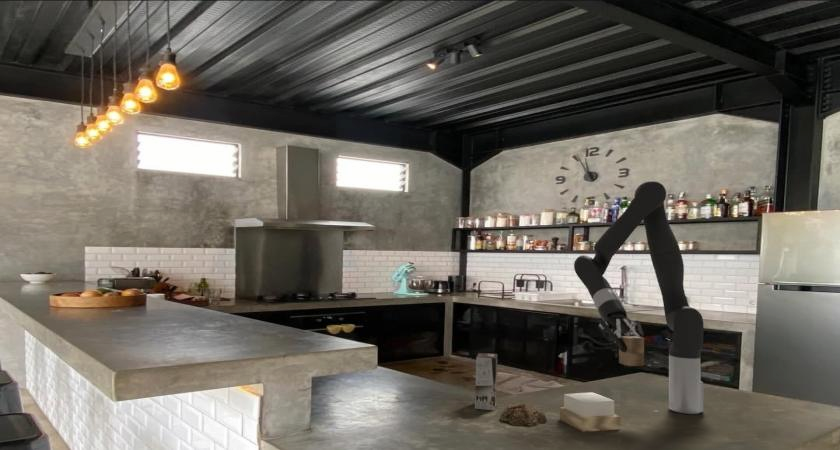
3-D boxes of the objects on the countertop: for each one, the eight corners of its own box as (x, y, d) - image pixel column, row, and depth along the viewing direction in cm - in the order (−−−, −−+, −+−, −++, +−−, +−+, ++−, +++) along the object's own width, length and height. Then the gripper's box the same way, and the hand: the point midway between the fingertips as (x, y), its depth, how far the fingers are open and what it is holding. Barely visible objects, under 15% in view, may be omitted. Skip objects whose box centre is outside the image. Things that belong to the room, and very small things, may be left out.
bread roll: (517, 413, 175) (517, 396, 175) (552, 422, 166) (552, 404, 166) (491, 420, 166) (491, 403, 166) (526, 430, 157) (527, 412, 157)
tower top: (592, 405, 171) (592, 392, 171) (614, 414, 161) (614, 400, 161) (563, 407, 167) (564, 394, 168) (584, 417, 158) (584, 402, 158)
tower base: (595, 419, 171) (595, 405, 171) (620, 430, 160) (620, 416, 160) (559, 421, 168) (560, 407, 168) (582, 433, 156) (582, 418, 156)
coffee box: (495, 410, 175) (496, 357, 176) (474, 409, 176) (475, 356, 177) (497, 403, 184) (498, 353, 185) (477, 402, 185) (478, 352, 186)
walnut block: (633, 362, 172) (633, 335, 172) (644, 365, 167) (643, 337, 167) (619, 363, 170) (618, 336, 171) (629, 366, 165) (629, 338, 166)
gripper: (593, 298, 176) (617, 343, 163) (633, 298, 180) (659, 342, 167) (584, 314, 180) (607, 358, 168) (623, 313, 184) (648, 357, 172)
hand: (633, 350), depth 168 cm, fingers closed on walnut block, 5 cm apart
